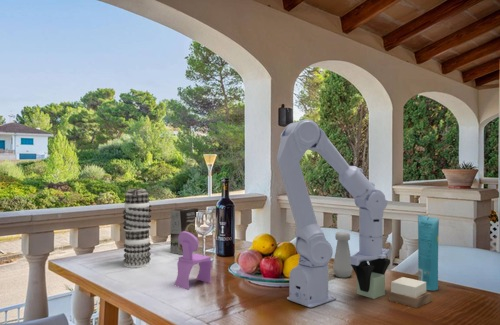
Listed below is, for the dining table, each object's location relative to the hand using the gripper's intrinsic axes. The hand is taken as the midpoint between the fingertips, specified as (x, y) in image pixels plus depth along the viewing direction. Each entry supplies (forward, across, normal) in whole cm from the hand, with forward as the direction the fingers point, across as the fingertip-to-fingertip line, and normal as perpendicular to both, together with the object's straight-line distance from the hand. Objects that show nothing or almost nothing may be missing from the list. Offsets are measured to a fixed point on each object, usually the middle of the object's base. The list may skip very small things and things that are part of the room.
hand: (370, 288), depth 105 cm
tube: (+2, +16, -7) cm, 18 cm away
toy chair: (+2, -30, +37) cm, 48 cm away
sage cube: (+1, 0, 0) cm, 1 cm away
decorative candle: (+2, -33, +67) cm, 75 cm away
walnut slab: (+2, +3, -9) cm, 10 cm away
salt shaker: (+2, +8, +15) cm, 17 cm away
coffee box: (+2, -11, +74) cm, 75 cm away
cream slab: (-1, +3, -9) cm, 9 cm away
